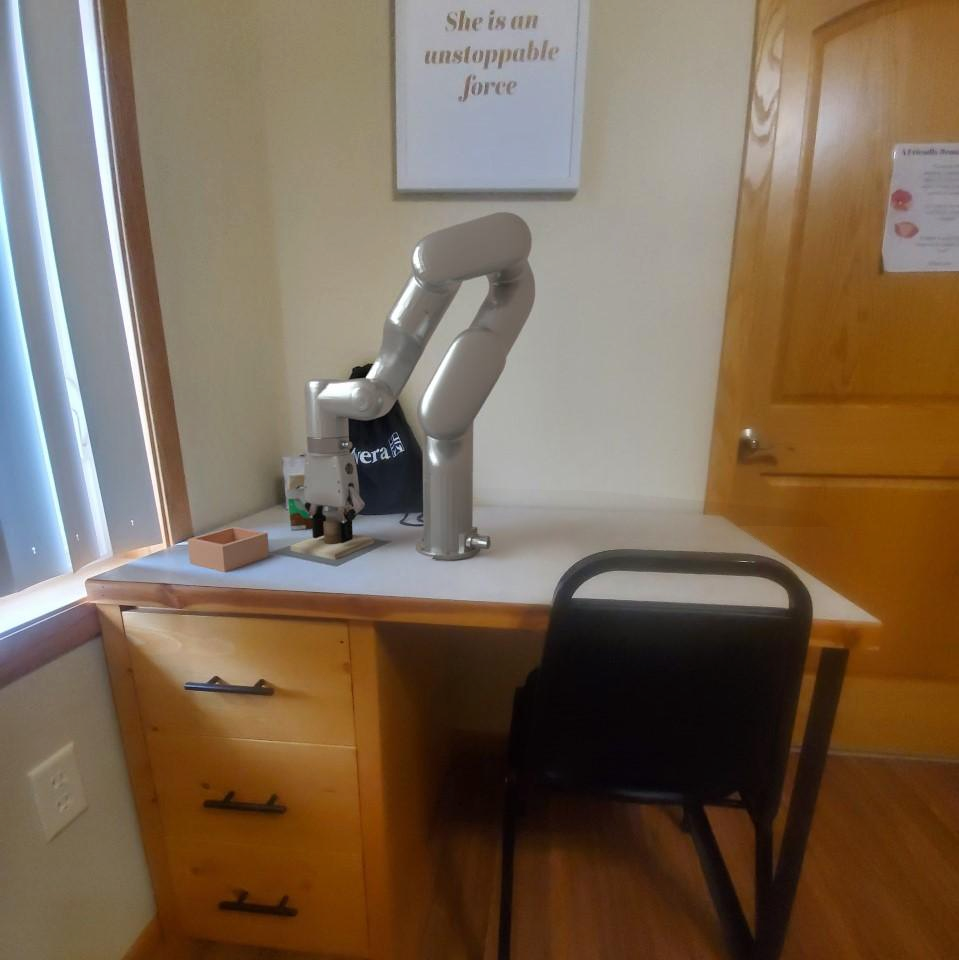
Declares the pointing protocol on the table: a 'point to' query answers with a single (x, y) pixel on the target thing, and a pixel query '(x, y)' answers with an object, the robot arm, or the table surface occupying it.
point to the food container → (298, 510)
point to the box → (294, 481)
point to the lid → (331, 543)
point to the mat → (328, 561)
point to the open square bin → (228, 548)
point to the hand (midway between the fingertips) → (332, 537)
